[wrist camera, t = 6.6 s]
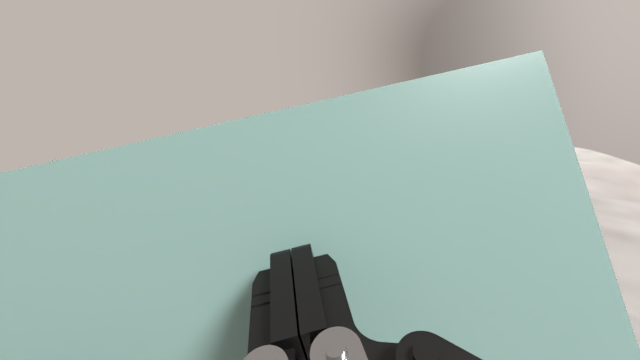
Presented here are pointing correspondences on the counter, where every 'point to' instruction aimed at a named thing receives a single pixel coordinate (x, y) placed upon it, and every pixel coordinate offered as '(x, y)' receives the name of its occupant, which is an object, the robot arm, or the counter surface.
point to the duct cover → (322, 228)
